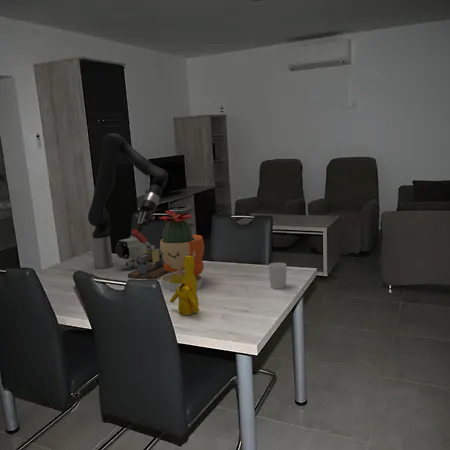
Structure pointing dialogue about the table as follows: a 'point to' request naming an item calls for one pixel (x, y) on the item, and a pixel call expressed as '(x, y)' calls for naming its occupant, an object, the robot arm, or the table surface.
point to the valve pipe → (149, 259)
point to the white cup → (277, 275)
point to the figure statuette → (187, 290)
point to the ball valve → (130, 250)
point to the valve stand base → (150, 273)
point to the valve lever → (140, 237)
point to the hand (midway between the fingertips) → (137, 231)
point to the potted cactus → (180, 250)
